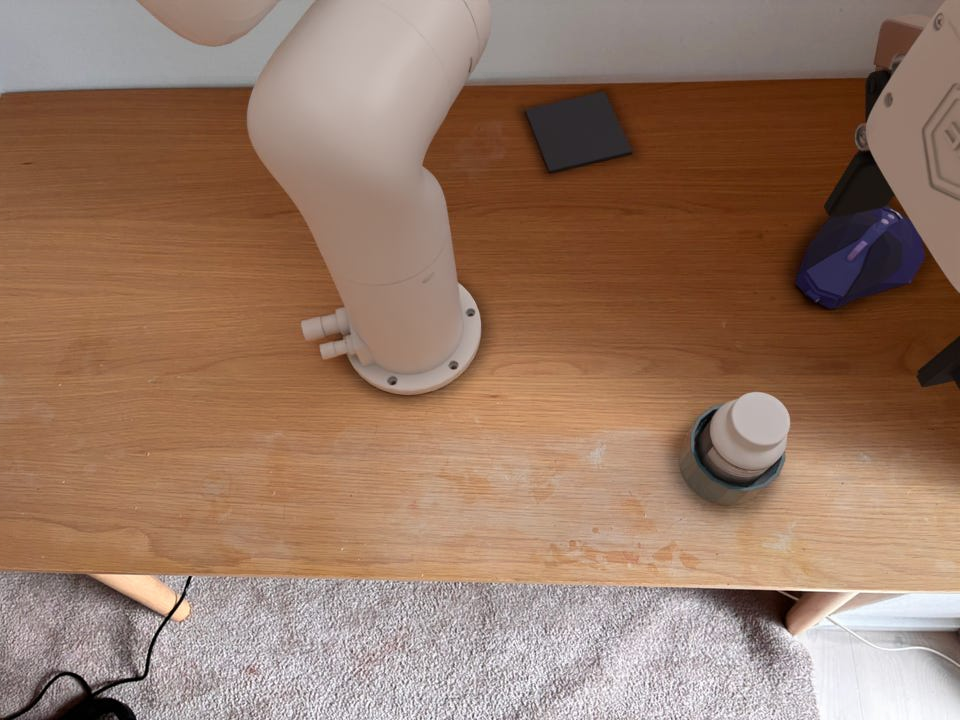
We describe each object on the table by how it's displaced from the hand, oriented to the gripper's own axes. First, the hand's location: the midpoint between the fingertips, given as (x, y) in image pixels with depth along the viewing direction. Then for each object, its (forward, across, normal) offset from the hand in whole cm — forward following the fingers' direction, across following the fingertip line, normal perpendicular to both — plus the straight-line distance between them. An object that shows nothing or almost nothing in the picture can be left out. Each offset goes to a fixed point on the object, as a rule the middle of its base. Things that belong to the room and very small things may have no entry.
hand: (898, 286), depth 33 cm
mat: (+26, -38, -4) cm, 46 cm away
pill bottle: (+26, 0, -2) cm, 26 cm away
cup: (+26, 0, -2) cm, 26 cm away
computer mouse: (+26, -16, +18) cm, 36 cm away
